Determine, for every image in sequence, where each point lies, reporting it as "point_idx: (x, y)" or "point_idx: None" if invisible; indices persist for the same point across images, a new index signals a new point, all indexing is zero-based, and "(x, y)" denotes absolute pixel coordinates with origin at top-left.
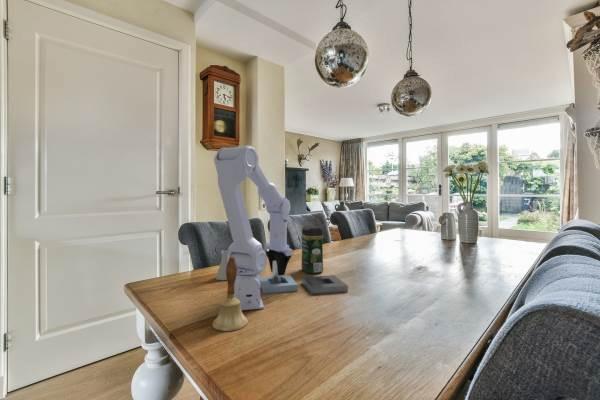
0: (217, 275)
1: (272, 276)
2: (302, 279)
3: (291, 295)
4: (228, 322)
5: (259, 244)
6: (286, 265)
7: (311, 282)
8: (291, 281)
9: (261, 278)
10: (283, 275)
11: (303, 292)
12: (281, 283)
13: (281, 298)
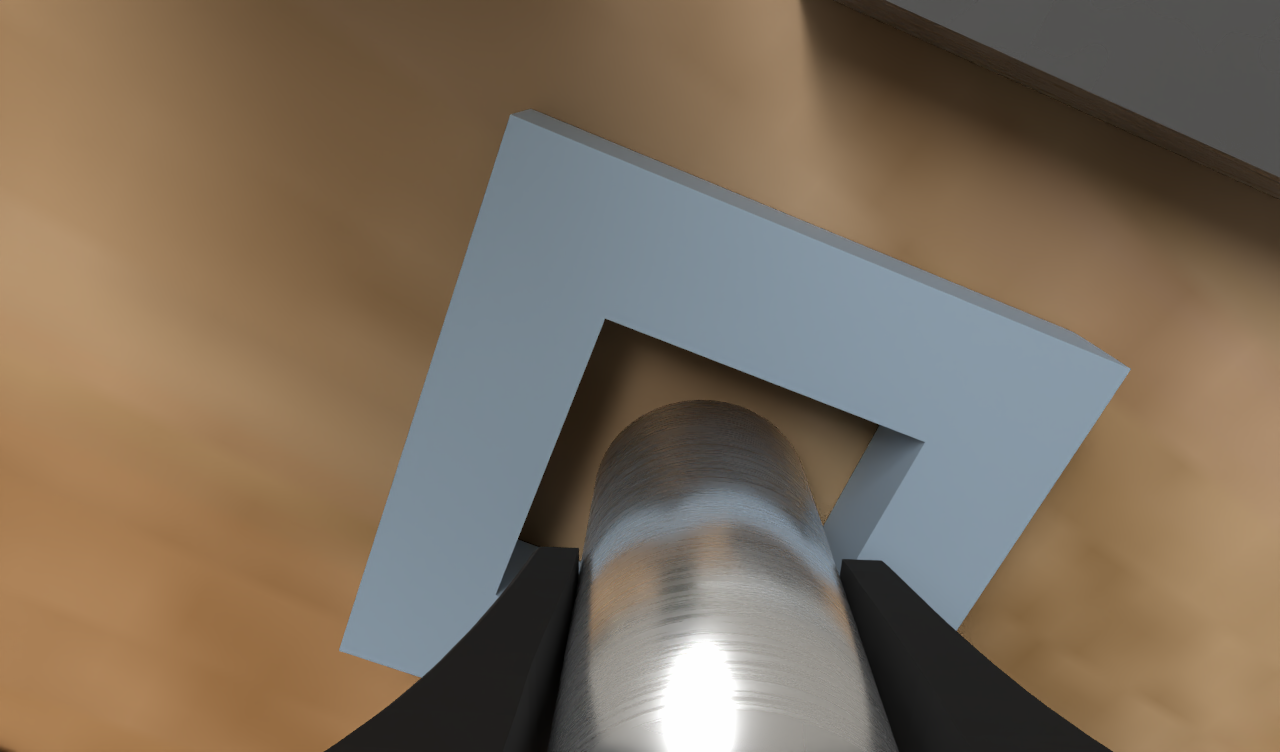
0: None
1: (408, 465)
2: None
3: (1143, 513)
4: None
5: None
6: (1016, 698)
7: (1261, 40)
8: (896, 351)
9: (425, 658)
10: (825, 535)
11: (1197, 297)
12: (869, 552)
13: (1120, 664)
